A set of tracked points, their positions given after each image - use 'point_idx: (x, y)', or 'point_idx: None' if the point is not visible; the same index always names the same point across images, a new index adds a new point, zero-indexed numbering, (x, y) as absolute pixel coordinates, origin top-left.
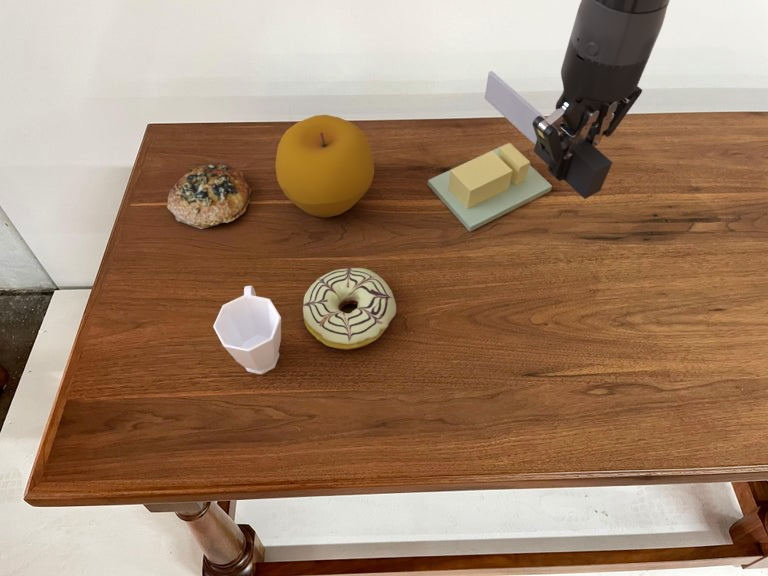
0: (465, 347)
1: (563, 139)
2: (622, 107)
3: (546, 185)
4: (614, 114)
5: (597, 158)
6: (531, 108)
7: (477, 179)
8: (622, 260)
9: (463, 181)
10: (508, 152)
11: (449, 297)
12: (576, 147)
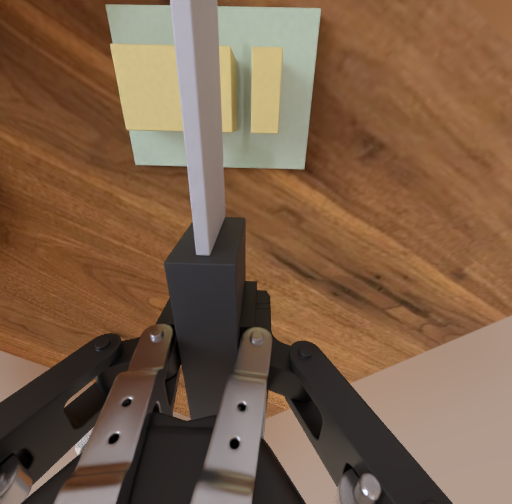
0: (68, 289)
1: (170, 353)
2: (338, 481)
3: (297, 162)
4: (318, 440)
5: (217, 407)
6: (191, 167)
7: (152, 110)
8: (288, 299)
9: (122, 97)
10: (258, 77)
11: (71, 235)
12: (175, 394)
